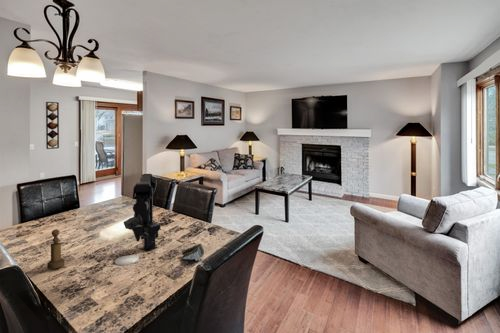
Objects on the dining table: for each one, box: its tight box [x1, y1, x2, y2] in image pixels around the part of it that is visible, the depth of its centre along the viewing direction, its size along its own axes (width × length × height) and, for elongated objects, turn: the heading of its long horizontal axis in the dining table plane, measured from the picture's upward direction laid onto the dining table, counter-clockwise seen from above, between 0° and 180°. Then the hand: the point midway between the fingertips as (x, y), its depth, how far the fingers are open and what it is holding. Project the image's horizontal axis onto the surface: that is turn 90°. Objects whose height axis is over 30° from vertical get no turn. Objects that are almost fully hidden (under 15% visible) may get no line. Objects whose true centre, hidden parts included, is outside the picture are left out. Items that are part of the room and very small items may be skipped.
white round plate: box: [114, 254, 140, 266], centre depth 128 cm, size 11×11×1 cm
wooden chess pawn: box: [46, 228, 65, 270], centre depth 121 cm, size 7×6×18 cm
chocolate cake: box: [181, 243, 205, 261], centre depth 130 cm, size 10×7×12 cm
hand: (143, 243), depth 117 cm, fingers open, 9 cm apart
